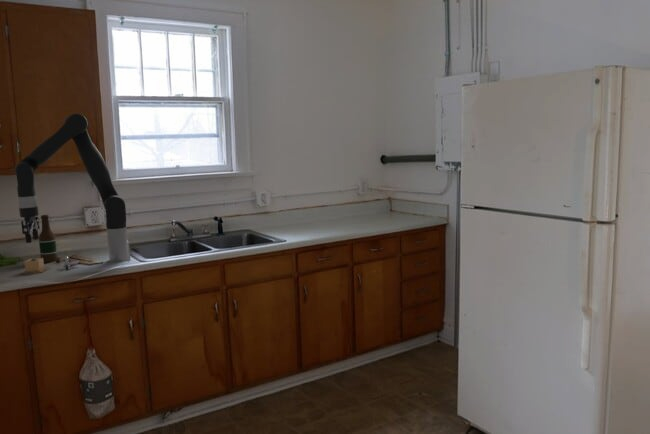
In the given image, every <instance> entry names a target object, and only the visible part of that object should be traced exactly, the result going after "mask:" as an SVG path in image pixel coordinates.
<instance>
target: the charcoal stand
mask: <svg viewBox="0 0 650 434" xmlns="http://www.w3.org/2000/svg"><path fill="white" fill-rule="evenodd" d="M64 265H65V267H61V268H58V269H56V271H65V272H67V271H72V270H75V269H78V268H79V267H78V266H70V262H69V257H68V256H65V257H64Z"/></svg>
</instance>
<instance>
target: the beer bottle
mask: <svg viewBox="0 0 650 434" xmlns="http://www.w3.org/2000/svg"><path fill="white" fill-rule="evenodd" d="M49 217H50V216H49V214H42V215H40V218H41V231H40V233H39V235H38V237H39V239H38V244H39V252H40V254H39V255H40V258H43V261H44V264H48V263H54V262H57V261H58V251H57V244H56V243H57V242H56V235H55V234H54V232H53V231H52V230H51V226H50V220H49Z"/></svg>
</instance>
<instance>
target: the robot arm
mask: <svg viewBox="0 0 650 434" xmlns="http://www.w3.org/2000/svg"><path fill="white" fill-rule="evenodd" d="M88 124H89V122H88V120H87V118H86V117H85V115H83V114H80V113H72V114H70V115H68V116H67V117H65V120H64V123H63V125H62V126H61V127H60V128H59V129H58V130H57V131H56V132H55V133H54V134H52V135H51V136H50V137H48V138H47V139H45V140H44V141H43V142H42V143H40V144H39V145H37V147H36V148H35V149H33V151H31V152H30V153H29V154H28V155H27V156H26V157H25V158H23V159H22V160H20V161H19V162H18V163H16V165H15V166H14V168H13V171H14V174H15V175H16V181H17V188H16V189H17V190H16V191H17V197H18V198H17V201H18V204H17V205H18V211H19V217H20V218H24V220H21V221H20V223H21V233H22V235H24V237H25V243H26V244H31V243H32V242H33V240H39V232H38V231H39V230H40V228H41V227H40V221H39V217H38V216H39V208H38V200H37V199H38V198H37V196H36V195H37V194H36V189H35V174H34V172H35V171H36V170H37V169H38V168H39V167H40V166H42V165H44V164H45V163H46V162H48V160H49V159H50V158H52V157H53V156H54V155H55V154H56V153H57V152H58V151H59V150H60V149H61V148H62V147H63V146H64V145H65V144H67V143H68V142H69V141H70V140H72V141H73V142H74V145H75V146H76V148H77V151H78V155H79V156H80V158H81V161H82V164H83V165H84V167H85V170H86V172H87V174H88V176H89V178H90V179H91V181H92V182H93V184H94V186H95V188H96V189H97V191H98V193H99V196H100V198H101V201H102V204H103V208H104V209H105V217H106V218H105V219H106V220H105V221H106V222H105V225H106V226H105V227H106V236H107V237H106V238H107V249H108V257H109V258H108V259H109V262H111V263H114V262H115V263H117V262H129V261H130V260H131V250H130V243H129V242H130V241H128V233H127V211H126V209H127V208H126V207H127V206H126V202H125V200H124V199H123V198H122V197H120V195H119V193H118V192H117V190H116V189H115V186H114V184H113V182H112V178H111V175H110V171H109V169H108V167H107V163H106V161H105V159H104V157H103V155H102V153H101V152H100V151H99V150H98V148H97V146H96V145H95V144H94V142H93V141H92V139H91V137H90V135H89V133H88V129H87V128H88ZM32 239H33V240H32Z"/></svg>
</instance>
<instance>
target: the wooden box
mask: <svg viewBox="0 0 650 434" xmlns="http://www.w3.org/2000/svg"><path fill="white" fill-rule="evenodd" d="M31 259H32V261H34V260H36V259H37V257H34V258H33V257H32V258H31ZM49 269H50V267H44V269H42V270H41V271H36V272H26V271H22V272H21V275H30V274H31V275H33V274H34V275H35V274H44V273H45V272H47V271H48V270H49Z"/></svg>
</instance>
